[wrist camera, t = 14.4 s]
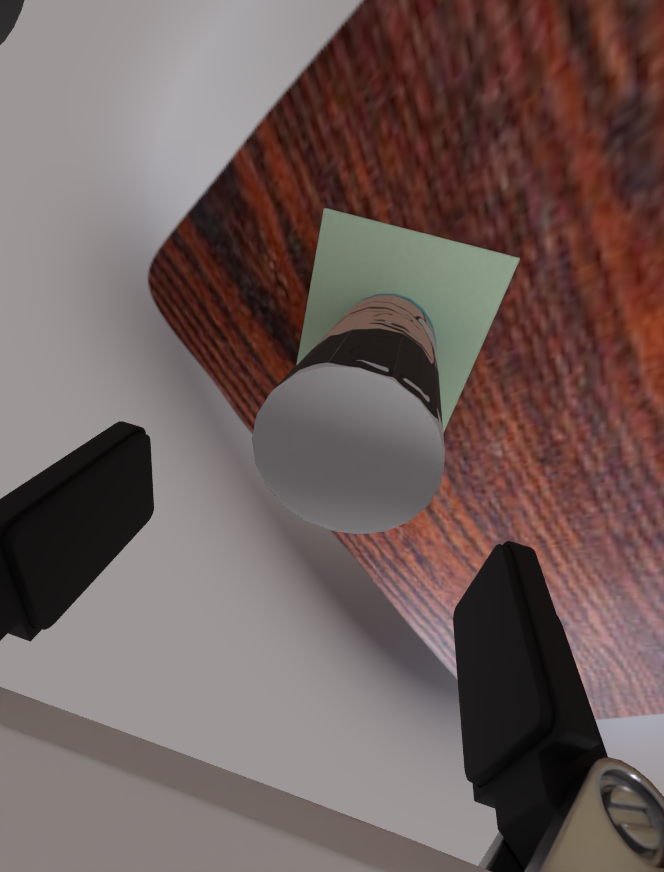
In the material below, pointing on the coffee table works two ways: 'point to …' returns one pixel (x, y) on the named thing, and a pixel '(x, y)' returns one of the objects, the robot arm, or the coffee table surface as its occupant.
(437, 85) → the coffee table surface
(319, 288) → the mat
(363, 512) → the cup
